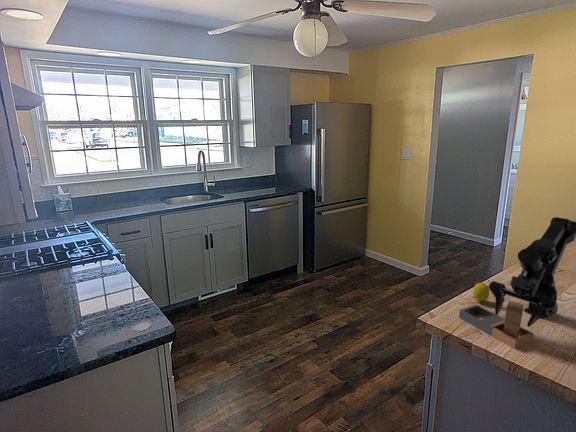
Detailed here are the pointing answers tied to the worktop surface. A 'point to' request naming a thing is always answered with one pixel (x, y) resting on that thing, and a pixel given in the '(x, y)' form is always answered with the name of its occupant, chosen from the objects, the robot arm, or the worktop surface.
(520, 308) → the peg
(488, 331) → the rail
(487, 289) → the lemon
